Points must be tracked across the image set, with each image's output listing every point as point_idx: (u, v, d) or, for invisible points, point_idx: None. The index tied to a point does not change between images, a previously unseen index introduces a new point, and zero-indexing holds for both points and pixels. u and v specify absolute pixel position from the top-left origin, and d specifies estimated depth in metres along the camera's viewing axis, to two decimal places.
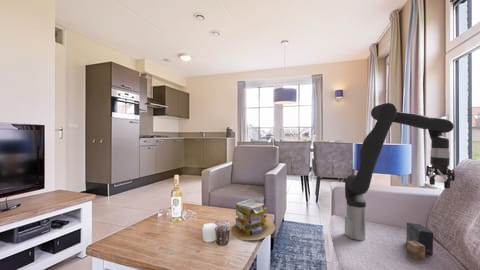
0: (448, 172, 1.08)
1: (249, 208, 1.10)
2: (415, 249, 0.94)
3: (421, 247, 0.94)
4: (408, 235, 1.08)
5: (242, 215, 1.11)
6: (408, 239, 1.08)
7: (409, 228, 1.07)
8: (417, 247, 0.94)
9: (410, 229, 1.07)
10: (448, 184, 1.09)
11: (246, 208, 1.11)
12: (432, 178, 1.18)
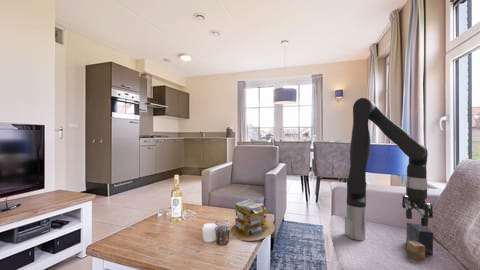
0: (425, 207, 0.91)
1: (249, 208, 1.09)
2: (415, 249, 0.94)
3: (421, 247, 0.94)
4: (408, 235, 1.08)
5: (242, 216, 1.11)
6: (408, 239, 1.08)
7: (409, 228, 1.07)
8: (417, 247, 0.94)
9: (410, 229, 1.07)
10: (425, 221, 0.91)
11: (246, 208, 1.11)
12: (409, 211, 1.01)
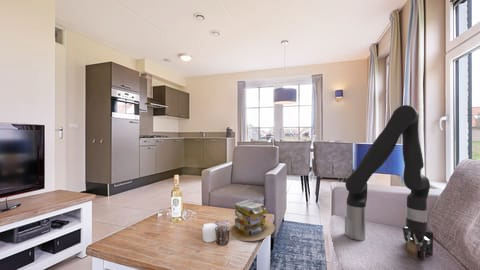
0: (424, 243, 0.91)
1: (248, 208, 1.09)
2: (415, 249, 0.94)
3: None
4: None
5: (241, 216, 1.11)
6: None
7: None
8: None
9: None
10: (422, 254, 0.93)
11: (245, 208, 1.10)
12: None
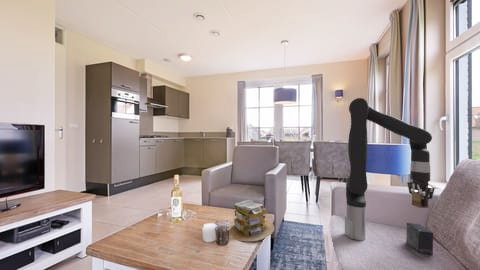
0: (427, 190, 0.98)
1: (248, 209, 1.09)
2: (419, 198, 1.02)
3: None
4: (408, 235, 1.08)
5: (241, 216, 1.10)
6: (408, 239, 1.08)
7: (409, 228, 1.07)
8: None
9: (410, 229, 1.07)
10: (425, 202, 1.00)
11: (245, 209, 1.10)
12: None
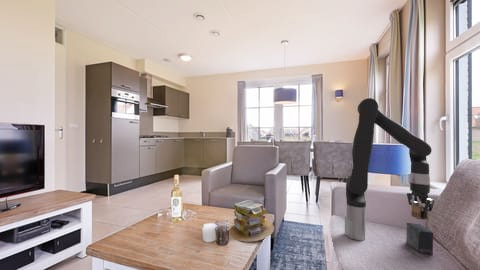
0: (427, 203, 0.99)
1: (248, 209, 1.09)
2: (419, 210, 1.02)
3: None
4: (408, 235, 1.08)
5: (240, 216, 1.10)
6: (408, 239, 1.08)
7: (409, 228, 1.07)
8: None
9: (410, 229, 1.07)
10: (425, 214, 1.01)
11: (244, 209, 1.10)
12: None
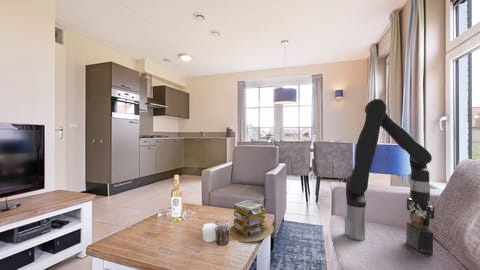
0: (427, 209, 0.98)
1: (247, 209, 1.08)
2: (419, 219, 1.02)
3: None
4: (408, 235, 1.08)
5: (240, 216, 1.10)
6: (408, 239, 1.08)
7: (409, 228, 1.07)
8: (421, 218, 1.02)
9: (410, 229, 1.07)
10: (427, 222, 1.00)
11: (244, 209, 1.10)
12: None
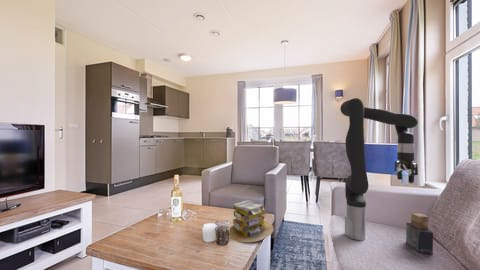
0: (411, 166, 1.10)
1: (247, 209, 1.08)
2: (419, 219, 1.02)
3: (424, 217, 1.02)
4: (408, 235, 1.08)
5: (240, 217, 1.10)
6: (408, 239, 1.08)
7: (409, 228, 1.07)
8: (421, 218, 1.02)
9: (410, 229, 1.07)
10: (412, 178, 1.11)
11: (244, 209, 1.09)
12: (399, 173, 1.20)
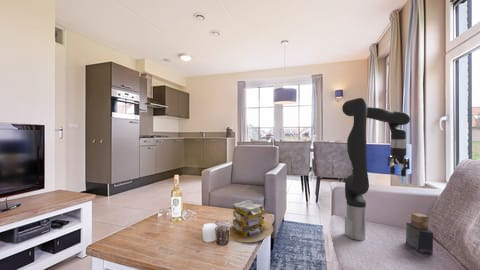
0: (404, 161, 1.17)
1: (246, 209, 1.08)
2: (419, 219, 1.02)
3: (424, 217, 1.02)
4: (408, 235, 1.08)
5: (239, 217, 1.09)
6: (408, 239, 1.08)
7: (409, 229, 1.07)
8: (421, 218, 1.02)
9: (410, 229, 1.07)
10: (404, 172, 1.17)
11: (243, 209, 1.09)
12: (392, 167, 1.27)
